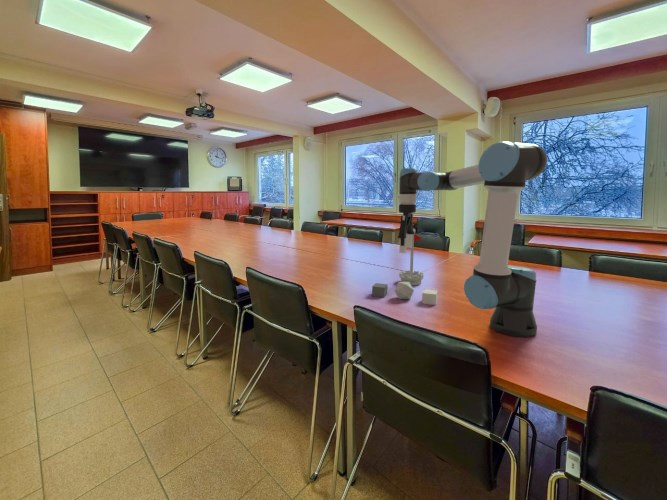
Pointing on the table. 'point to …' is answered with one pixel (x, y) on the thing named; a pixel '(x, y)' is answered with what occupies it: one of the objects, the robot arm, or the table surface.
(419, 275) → the flag stand
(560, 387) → the table surface
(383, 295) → the charcoal block
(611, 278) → the table surface
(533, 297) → the robot arm
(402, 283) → the die
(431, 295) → the off-white block
